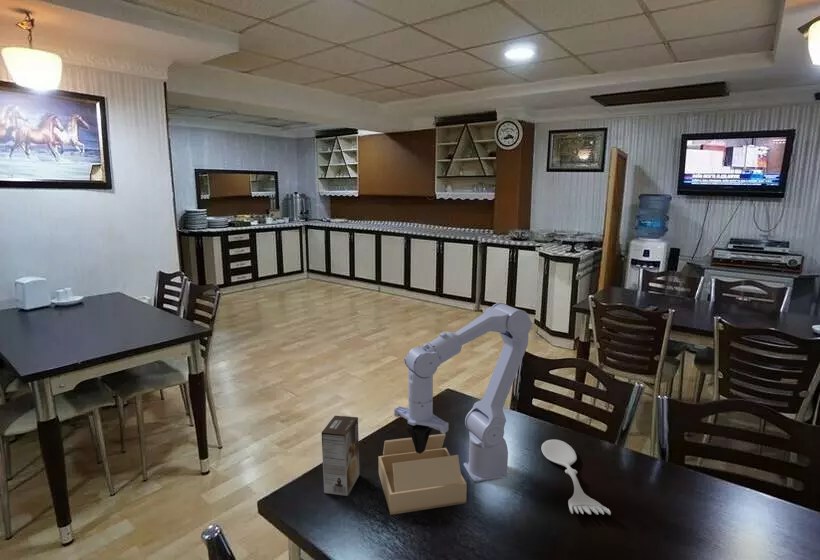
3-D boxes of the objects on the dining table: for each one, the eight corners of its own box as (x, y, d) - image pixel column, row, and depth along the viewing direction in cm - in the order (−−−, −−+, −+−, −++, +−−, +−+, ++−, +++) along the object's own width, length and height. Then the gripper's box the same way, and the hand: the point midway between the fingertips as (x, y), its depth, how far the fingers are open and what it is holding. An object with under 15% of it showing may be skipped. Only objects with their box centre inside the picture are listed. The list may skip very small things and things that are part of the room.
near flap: (395, 491, 105) (395, 492, 104) (392, 463, 107) (392, 463, 106) (461, 482, 108) (461, 482, 108) (457, 454, 110) (458, 454, 110)
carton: (445, 465, 124) (445, 447, 123) (466, 503, 109) (466, 483, 108) (378, 474, 120) (378, 456, 119) (390, 514, 105) (390, 494, 104)
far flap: (441, 447, 123) (441, 446, 123) (445, 435, 119) (445, 433, 119) (383, 455, 119) (383, 453, 120) (385, 442, 116) (384, 440, 116)
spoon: (569, 524, 102) (570, 510, 102) (537, 446, 134) (538, 435, 133) (611, 525, 102) (613, 511, 101) (569, 447, 133) (570, 436, 133)
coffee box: (336, 471, 121) (334, 414, 119) (360, 474, 120) (358, 416, 117) (323, 493, 113) (320, 431, 110) (348, 497, 111) (346, 434, 108)
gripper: (386, 396, 112) (386, 448, 114) (436, 412, 103) (436, 469, 105) (404, 386, 117) (404, 436, 120) (453, 401, 109) (452, 455, 111)
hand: (420, 451), depth 113 cm, fingers closed
